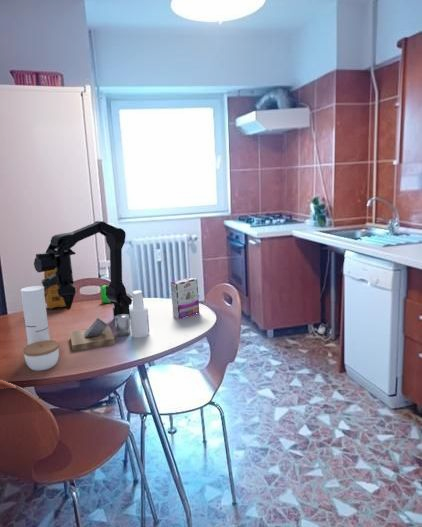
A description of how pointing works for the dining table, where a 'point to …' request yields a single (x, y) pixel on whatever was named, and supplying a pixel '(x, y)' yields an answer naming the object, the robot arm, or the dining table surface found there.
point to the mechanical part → (103, 296)
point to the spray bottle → (139, 316)
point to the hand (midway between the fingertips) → (68, 306)
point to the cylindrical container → (35, 314)
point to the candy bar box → (185, 297)
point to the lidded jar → (41, 354)
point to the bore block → (91, 339)
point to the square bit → (95, 329)
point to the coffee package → (52, 293)
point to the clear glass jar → (122, 325)
